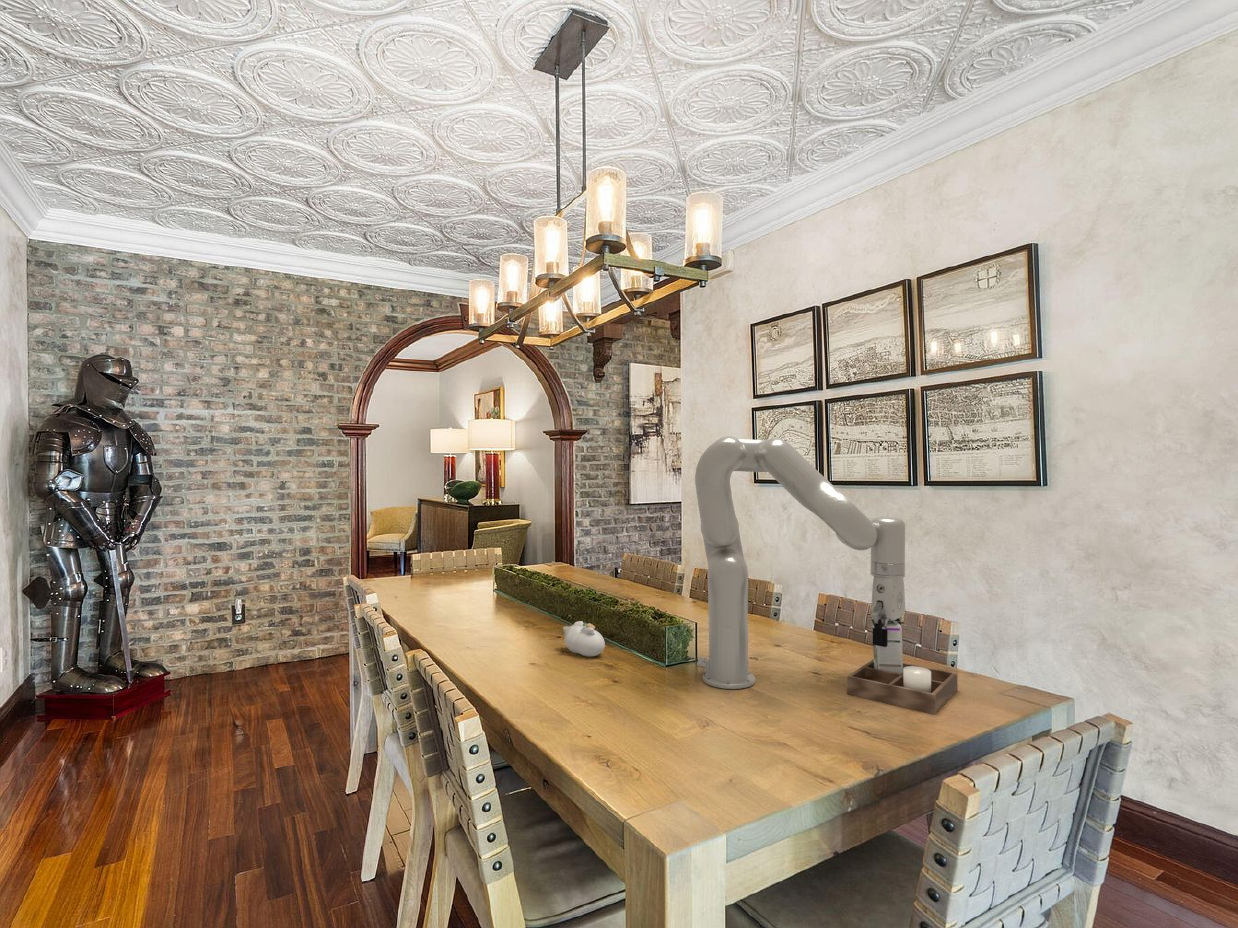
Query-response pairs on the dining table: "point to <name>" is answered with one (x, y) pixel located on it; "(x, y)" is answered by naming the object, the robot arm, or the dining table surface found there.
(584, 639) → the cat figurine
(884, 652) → the grey tall block
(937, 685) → the tray
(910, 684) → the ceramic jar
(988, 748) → the dining table surface
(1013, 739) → the dining table surface
